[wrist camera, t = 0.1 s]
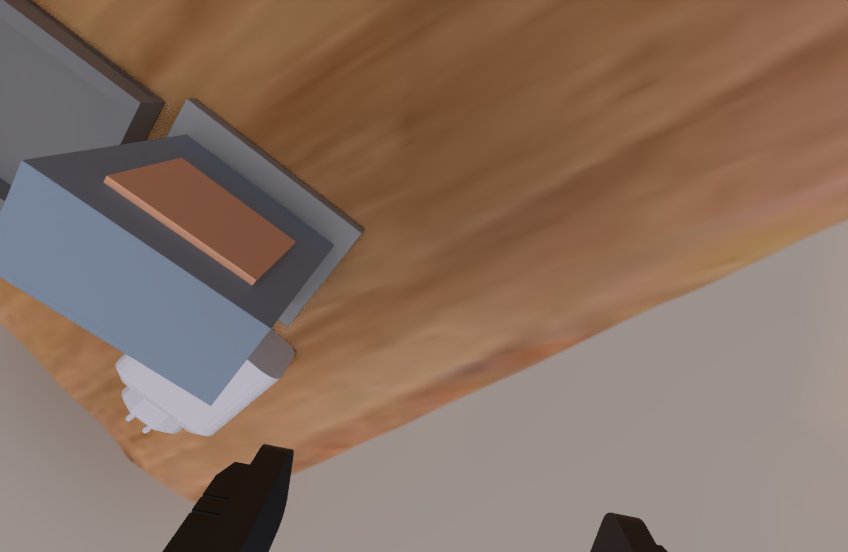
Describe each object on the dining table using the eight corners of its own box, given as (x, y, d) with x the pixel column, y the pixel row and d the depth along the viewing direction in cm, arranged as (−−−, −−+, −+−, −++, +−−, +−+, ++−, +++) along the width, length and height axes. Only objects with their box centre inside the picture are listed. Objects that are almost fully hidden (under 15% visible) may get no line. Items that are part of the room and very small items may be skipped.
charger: (110, 374, 38) (210, 272, 34) (194, 436, 41) (298, 349, 36) (67, 410, 34) (175, 298, 30) (163, 477, 36) (277, 384, 32)
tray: (-28, -44, 26) (-73, -57, 24) (165, 102, 29) (140, 102, 27) (-79, 130, 31) (-122, 133, 28) (92, 243, 33) (65, 254, 31)
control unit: (195, 98, 29) (13, 102, 17) (364, 229, 32) (311, 312, 20) (134, 211, 32) (-54, 282, 20) (292, 320, 35) (209, 438, 23)
